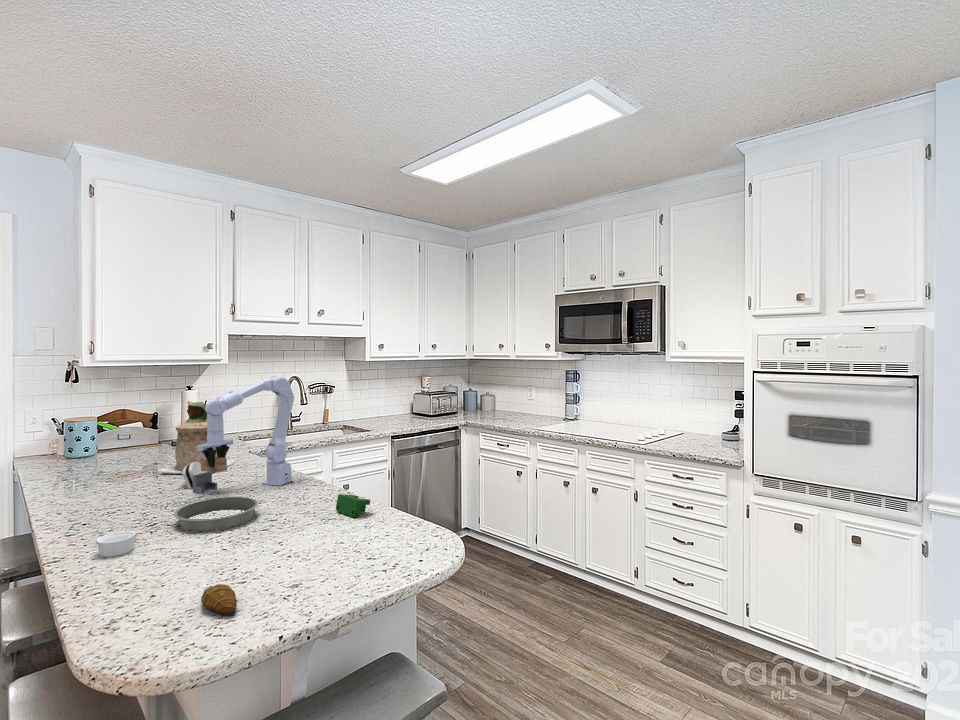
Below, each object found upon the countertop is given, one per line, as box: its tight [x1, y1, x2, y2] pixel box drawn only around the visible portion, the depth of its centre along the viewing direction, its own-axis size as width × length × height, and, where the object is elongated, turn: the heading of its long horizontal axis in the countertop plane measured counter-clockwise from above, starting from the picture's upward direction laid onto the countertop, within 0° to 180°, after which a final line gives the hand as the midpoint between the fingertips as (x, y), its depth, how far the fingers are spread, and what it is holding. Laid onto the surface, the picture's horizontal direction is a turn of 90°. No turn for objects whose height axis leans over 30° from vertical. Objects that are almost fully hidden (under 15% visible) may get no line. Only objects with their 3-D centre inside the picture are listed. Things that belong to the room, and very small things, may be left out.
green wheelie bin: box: [335, 493, 371, 518], centre depth 178 cm, size 12×6×9 cm, turn 43°
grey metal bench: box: [192, 472, 218, 495], centre depth 207 cm, size 5×7×6 cm
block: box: [200, 456, 228, 473], centre depth 205 cm, size 10×4×5 cm, turn 66°
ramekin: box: [96, 530, 136, 558], centre depth 146 cm, size 9×9×4 cm
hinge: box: [181, 462, 205, 490], centre depth 218 cm, size 17×5×10 cm, turn 17°
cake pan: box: [173, 496, 259, 532], centre depth 172 cm, size 25×25×4 cm
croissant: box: [200, 583, 238, 616], centre depth 114 cm, size 14×7×5 cm, turn 47°
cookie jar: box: [157, 400, 236, 475], centre depth 245 cm, size 25×25×32 cm
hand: (216, 465), depth 204 cm, fingers closed on block, 3 cm apart
